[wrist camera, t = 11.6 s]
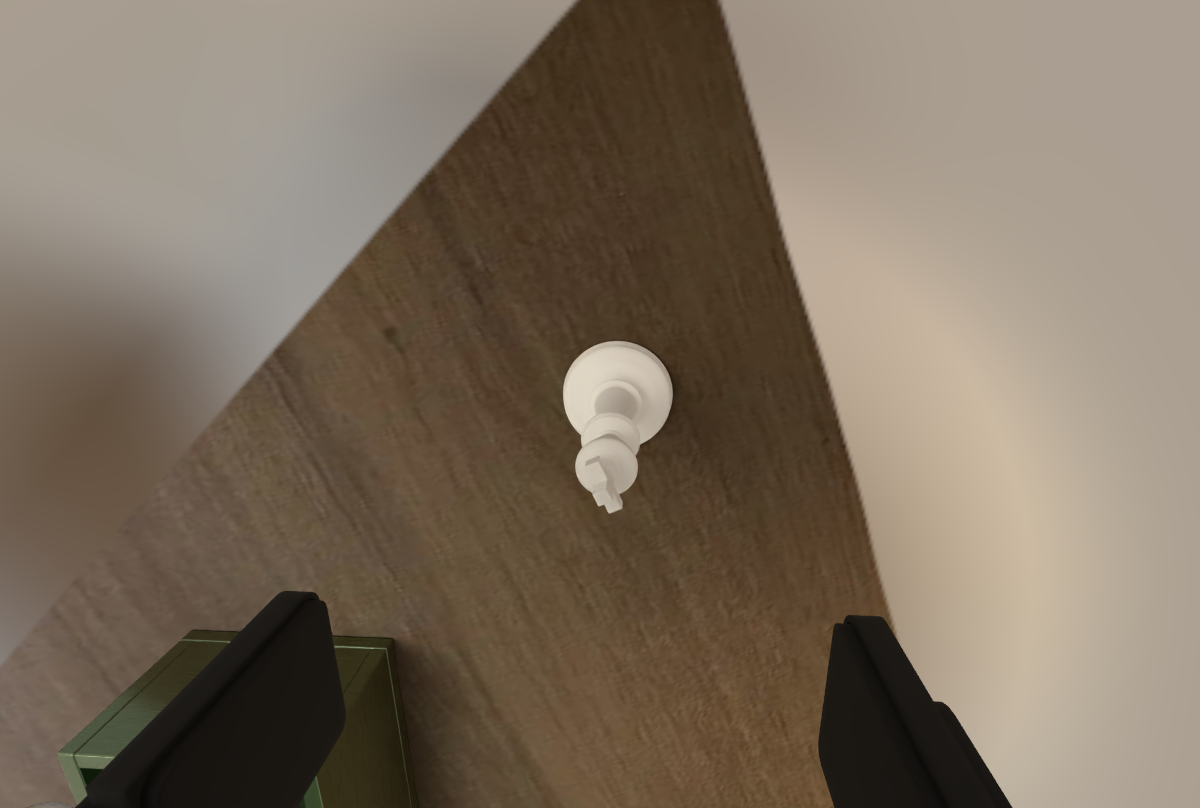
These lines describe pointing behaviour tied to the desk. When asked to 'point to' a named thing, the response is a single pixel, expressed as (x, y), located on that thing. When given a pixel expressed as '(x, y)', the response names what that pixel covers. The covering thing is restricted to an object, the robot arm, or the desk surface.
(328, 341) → the desk surface
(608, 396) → the chess piece
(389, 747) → the bin
